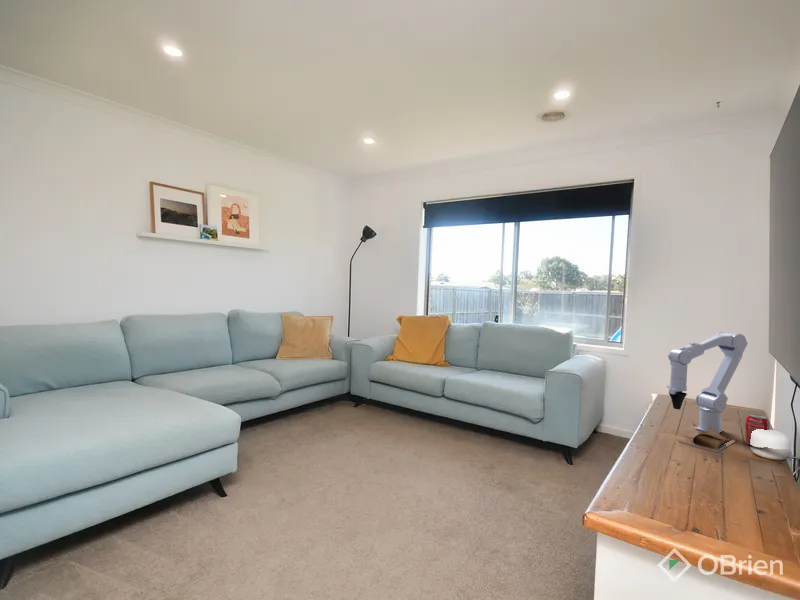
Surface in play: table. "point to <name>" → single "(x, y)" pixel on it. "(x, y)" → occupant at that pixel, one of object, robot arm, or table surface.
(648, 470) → the table surface
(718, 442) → the sunglasses case
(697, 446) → the taped bay
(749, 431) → the soda can
